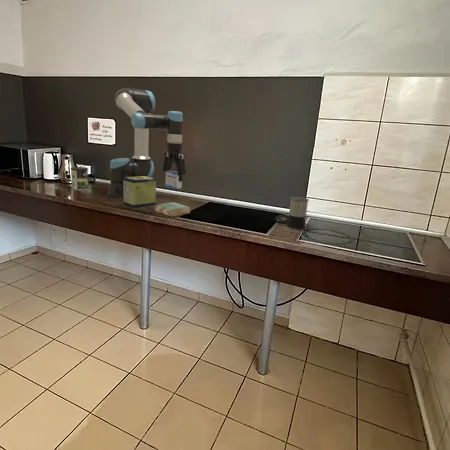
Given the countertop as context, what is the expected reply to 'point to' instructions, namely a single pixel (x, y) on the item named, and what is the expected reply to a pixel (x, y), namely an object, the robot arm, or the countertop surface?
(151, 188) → the protein box
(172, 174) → the medicine box
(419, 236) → the countertop surface
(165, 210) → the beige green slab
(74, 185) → the coffee can
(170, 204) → the mat
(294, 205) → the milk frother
